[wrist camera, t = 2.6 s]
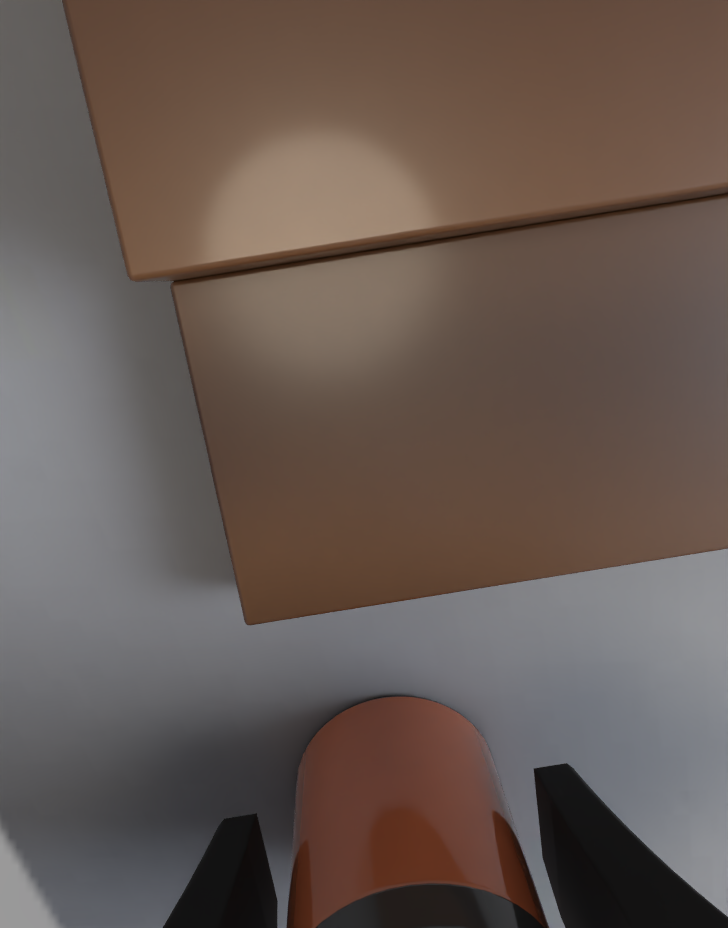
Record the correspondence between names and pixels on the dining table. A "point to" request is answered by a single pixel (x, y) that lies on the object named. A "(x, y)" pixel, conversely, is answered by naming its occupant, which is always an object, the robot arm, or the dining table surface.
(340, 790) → the spice jar
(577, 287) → the spice shelf
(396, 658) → the dining table surface
